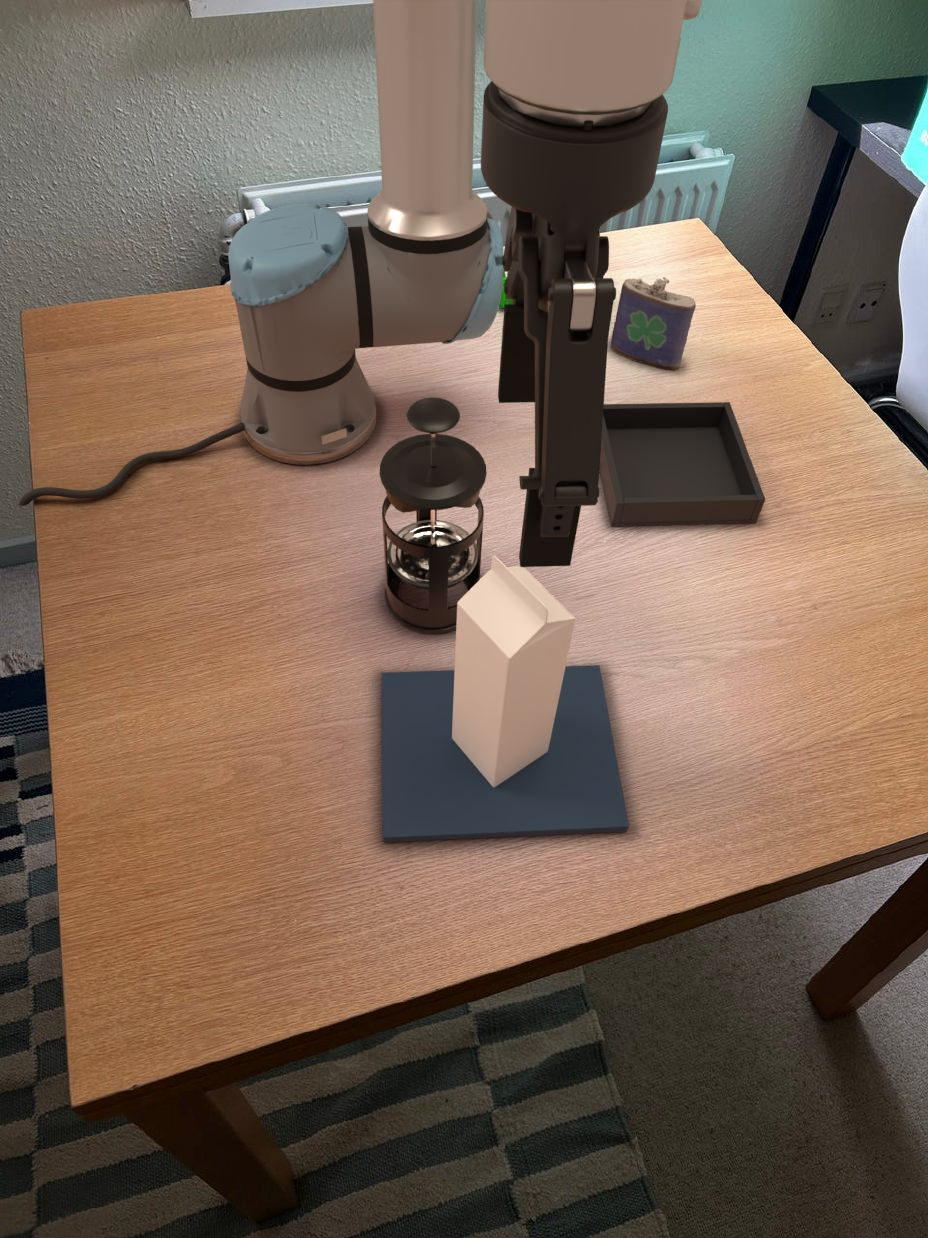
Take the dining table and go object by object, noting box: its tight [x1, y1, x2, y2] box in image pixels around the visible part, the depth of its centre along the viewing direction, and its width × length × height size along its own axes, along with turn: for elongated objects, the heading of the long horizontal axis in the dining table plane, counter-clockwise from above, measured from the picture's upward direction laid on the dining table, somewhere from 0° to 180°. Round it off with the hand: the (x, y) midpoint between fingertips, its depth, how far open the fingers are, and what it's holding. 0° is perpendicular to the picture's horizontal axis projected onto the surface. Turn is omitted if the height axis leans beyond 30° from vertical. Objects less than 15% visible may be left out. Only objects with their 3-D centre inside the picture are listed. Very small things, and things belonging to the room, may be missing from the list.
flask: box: [610, 276, 697, 371], centre depth 110 cm, size 9×3×11 cm, turn 61°
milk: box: [452, 555, 576, 788], centre depth 70 cm, size 6×6×22 cm
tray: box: [599, 401, 766, 527], centre depth 100 cm, size 16×16×4 cm
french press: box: [379, 396, 488, 635], centre depth 81 cm, size 12×9×23 cm
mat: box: [381, 664, 630, 843], centre depth 79 cm, size 20×16×1 cm
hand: (531, 474), depth 54 cm, fingers open, 13 cm apart
